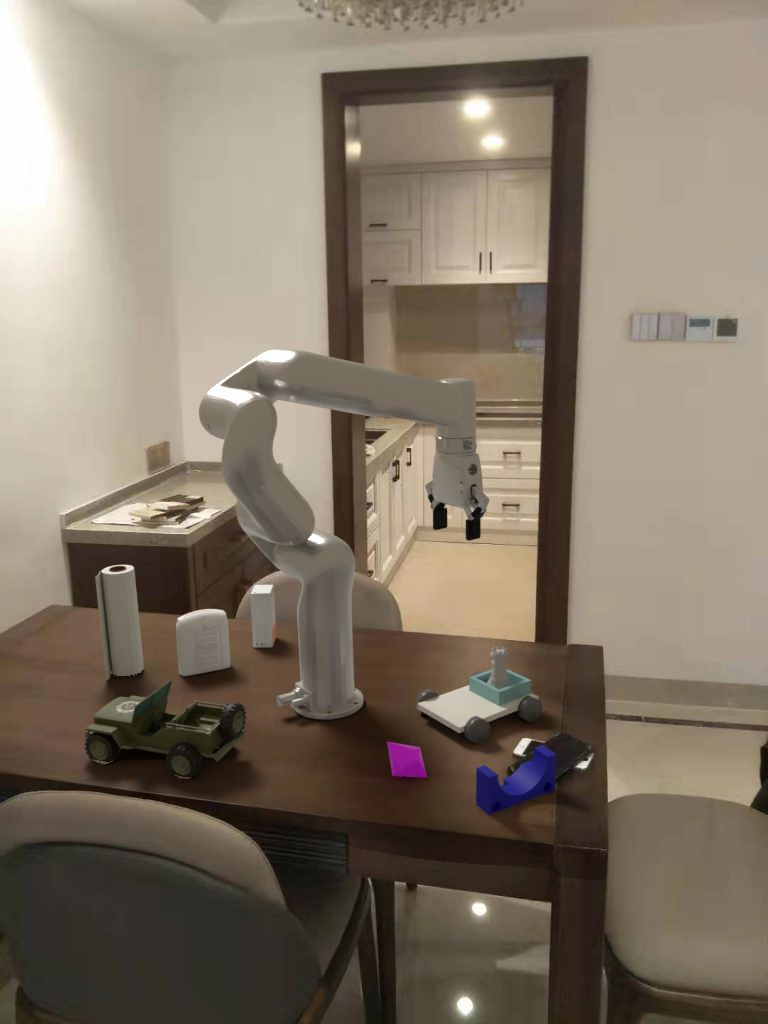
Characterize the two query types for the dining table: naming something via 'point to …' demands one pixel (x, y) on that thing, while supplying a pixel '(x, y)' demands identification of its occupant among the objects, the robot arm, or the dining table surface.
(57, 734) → the dining table surface
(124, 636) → the paper towel roll
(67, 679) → the dining table surface
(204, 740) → the toy jeep
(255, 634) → the skincare box
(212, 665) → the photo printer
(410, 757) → the crystal
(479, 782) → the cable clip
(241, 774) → the dining table surface
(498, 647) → the rook chess piece
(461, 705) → the chassis
